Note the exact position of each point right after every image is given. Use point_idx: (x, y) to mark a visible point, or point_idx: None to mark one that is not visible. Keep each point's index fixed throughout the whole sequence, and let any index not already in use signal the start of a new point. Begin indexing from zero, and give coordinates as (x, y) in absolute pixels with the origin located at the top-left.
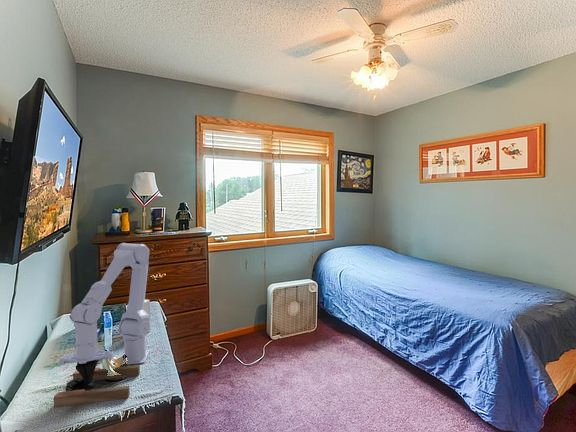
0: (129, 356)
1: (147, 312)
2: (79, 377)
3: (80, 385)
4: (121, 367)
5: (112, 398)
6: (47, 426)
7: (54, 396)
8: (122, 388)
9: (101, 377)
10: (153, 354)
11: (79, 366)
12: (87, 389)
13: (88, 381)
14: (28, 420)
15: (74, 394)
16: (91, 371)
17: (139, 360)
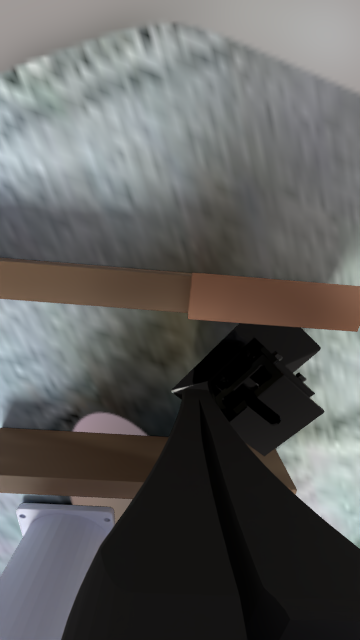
0: (60, 558)
1: None
2: (257, 449)
3: (233, 389)
4: (54, 489)
5: (32, 260)
6: (325, 91)
7: None
8: None
9: (159, 446)
10: (11, 541)
11: (350, 636)
12: (198, 381)
13: (189, 399)
14: None
15: (243, 277)
16: (151, 472)
17: (38, 520)
